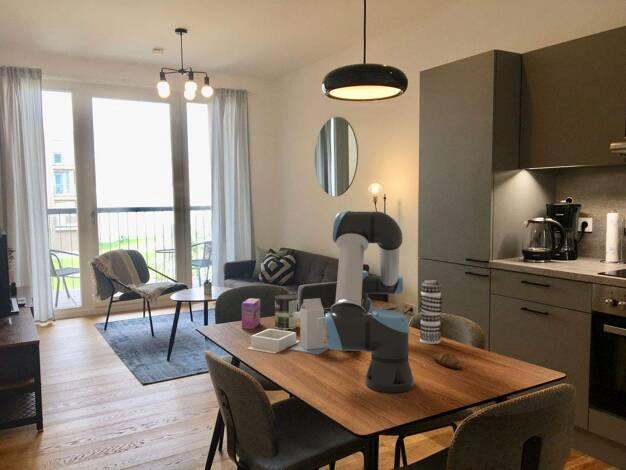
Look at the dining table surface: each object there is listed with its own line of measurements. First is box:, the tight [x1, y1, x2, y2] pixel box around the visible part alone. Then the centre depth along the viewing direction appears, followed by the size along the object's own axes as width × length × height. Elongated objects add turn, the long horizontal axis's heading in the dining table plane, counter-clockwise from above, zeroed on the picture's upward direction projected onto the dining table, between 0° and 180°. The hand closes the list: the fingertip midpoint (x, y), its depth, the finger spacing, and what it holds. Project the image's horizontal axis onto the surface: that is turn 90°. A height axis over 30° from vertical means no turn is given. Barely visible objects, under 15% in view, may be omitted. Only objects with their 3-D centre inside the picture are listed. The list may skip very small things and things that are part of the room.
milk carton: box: [299, 297, 325, 350], centre depth 206 cm, size 7×7×19 cm
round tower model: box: [419, 279, 443, 345], centre depth 216 cm, size 9×9×25 cm
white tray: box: [246, 328, 300, 355], centre depth 211 cm, size 19×13×4 cm
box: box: [241, 297, 261, 330], centre depth 241 cm, size 10×6×12 cm, turn 168°
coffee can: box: [274, 293, 298, 331], centre depth 239 cm, size 10×10×14 cm
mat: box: [288, 343, 330, 355], centre depth 207 cm, size 13×13×1 cm
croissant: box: [432, 351, 461, 370], centre depth 187 cm, size 14×7×5 cm, turn 24°
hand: (305, 319), depth 204 cm, fingers open, 13 cm apart
